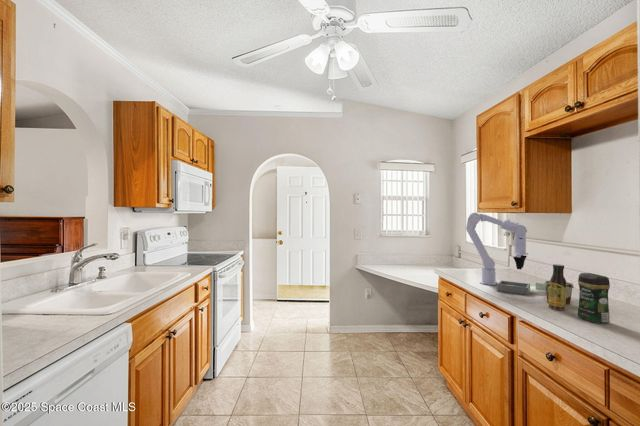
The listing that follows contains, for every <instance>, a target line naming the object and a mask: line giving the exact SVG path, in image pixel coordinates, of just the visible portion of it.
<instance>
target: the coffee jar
mask: <svg viewBox="0 0 640 426" xmlns="http://www.w3.org/2000/svg"><path fill="white" fill-rule="evenodd" d="M577 282H578V287H579V289H578V290H579V294H578V295H579V298H578V307H577V316H578V317H579V318H580V319H583V320H585V321H588V322H590V323H596V324H597V323H598V324H602V325H604V324H607V323H610V321H611V320H610V307H609V305H610V304H609V290H610V287H611V285H610V284H611V283H610V279H609V277H607V276H604V275H600V274H596V273H591V272H584V273H583V272H581V273H580V274H579V275H578V279H577Z"/></svg>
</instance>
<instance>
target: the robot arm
mask: <svg viewBox="0 0 640 426" xmlns="http://www.w3.org/2000/svg"><path fill="white" fill-rule="evenodd" d="M479 222H488V223H491V224H494V225H496V226H497V225H498V226H499V227H500V229H502V230H504V231H507V232H510V233H514V252H513V254H514V255H515V256H513V260H514V262H515V266H516V270H522V268H524V265H525V261H526V259H527V256H528V255H529V253H528V252H527V232H528V229H527V227H526V226H525V225H523V224H520V223H519V222H514V221H511V219H503V220H501V219H498V218H496V217H493V216H489V215H487V214H484V213H483V214H482V213H479V212H478V213H477V212H472V213H470V214H469V215H468V218H467V223H466V226H465V228H466V229H465V230H466V232H467V234H468V236H469V237H470V239H471V241H472V242H473V245H474V247H475V248H476V250H477V252H478V254H479V257H480V258H481V261H482V265H483V266H481V282H479V284H480V285H481V284H482V285H490V286H496V285H497V284H498V281H496V280H497V279H496V278H497V277H496V268H495V266H496V263H495V261H494V259H493V258H492V257H491V256H490V254H489V253H488V252H487V249H486V248H485V245H484V244H483V241H482V240H481V239H480V237H479V235H478V233H477V231H476V227H477V224H479Z"/></svg>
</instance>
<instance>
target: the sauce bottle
mask: <svg viewBox="0 0 640 426" xmlns="http://www.w3.org/2000/svg"><path fill="white" fill-rule="evenodd" d="M552 268H553V269H552V270H553V271H552V275H551V277H550V280H549V281H550V282H549V297H548V303H547V304H548V308H549V309H552V310H555V311H565V308H566V305H565V304H566V282H567V279H566V278H565V277H564V270H565V265H564V264H559V263H553V265H552Z"/></svg>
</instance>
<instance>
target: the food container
mask: <svg viewBox="0 0 640 426" xmlns="http://www.w3.org/2000/svg"><path fill="white" fill-rule="evenodd" d="M549 282H550V280H546V281H545V282H543V283H544V287H546V292H545V294H546V295H545V296H546V303H547V304H548V297H549ZM574 288H575V286H574V285H573V283H572V282H568V281H566V304H565V306H570V305H571V302H572V301H571V300H572V293H573V289H574Z"/></svg>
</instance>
